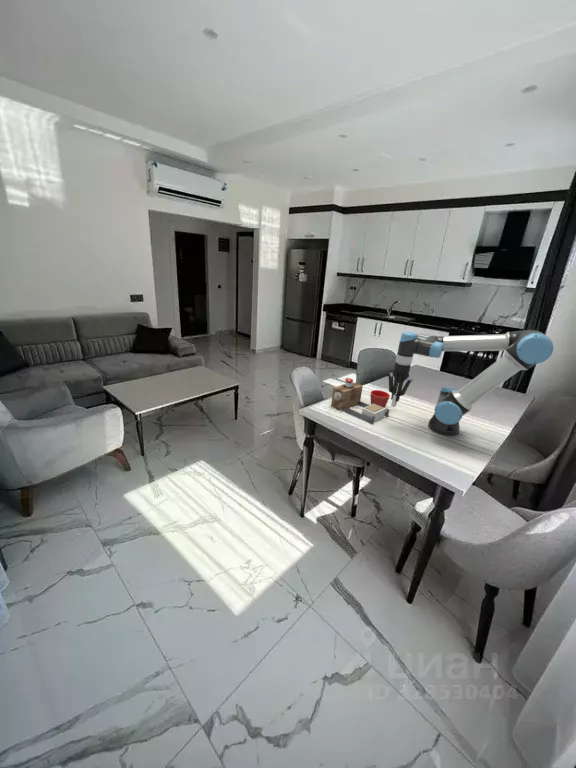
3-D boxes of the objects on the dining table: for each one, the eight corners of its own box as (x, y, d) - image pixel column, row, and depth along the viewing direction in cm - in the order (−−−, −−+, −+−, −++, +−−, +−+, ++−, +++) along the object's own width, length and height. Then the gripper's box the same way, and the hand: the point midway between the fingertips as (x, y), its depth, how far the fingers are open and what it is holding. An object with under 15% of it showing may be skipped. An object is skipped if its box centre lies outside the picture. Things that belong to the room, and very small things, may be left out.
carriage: (384, 416, 176) (386, 407, 174) (373, 421, 169) (375, 412, 167) (372, 411, 181) (373, 402, 180) (361, 416, 174) (362, 407, 172)
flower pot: (382, 414, 180) (386, 398, 177) (365, 408, 186) (367, 393, 183) (389, 408, 188) (392, 393, 185) (372, 403, 194) (375, 388, 191)
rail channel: (388, 416, 177) (389, 409, 176) (372, 424, 167) (373, 417, 165) (358, 404, 191) (359, 397, 189) (342, 410, 180) (343, 403, 178)
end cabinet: (359, 404, 191) (362, 385, 187) (341, 411, 179) (344, 392, 175) (349, 399, 197) (351, 381, 192) (330, 406, 184) (332, 387, 180)
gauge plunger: (352, 392, 185) (354, 379, 182) (348, 394, 182) (350, 381, 179) (346, 390, 188) (348, 377, 185) (342, 391, 185) (344, 379, 182)
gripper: (419, 365, 154) (408, 408, 162) (395, 358, 163) (386, 400, 171) (411, 368, 149) (401, 412, 158) (387, 360, 158) (378, 403, 166)
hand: (393, 406), depth 164 cm, fingers closed
